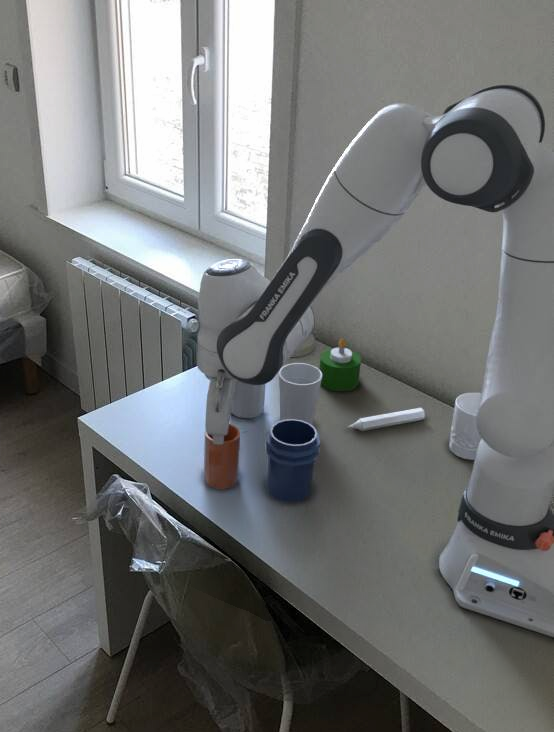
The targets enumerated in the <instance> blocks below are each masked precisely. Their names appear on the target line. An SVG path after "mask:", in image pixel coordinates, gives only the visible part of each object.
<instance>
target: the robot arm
mask: <svg viewBox="0 0 554 732" xmlns="http://www.w3.org/2000/svg"><path fill="white" fill-rule="evenodd" d="M545 129H546V119H545V113H544V110H543V106H542V105H541V103H540V101H539V100H538V99H537V98H536V96H535V95H533V94H532V93H531V92H530V91H528V90H527V89H525V88H523V87H520V86H517V85H512V84H498V85H493V86H489V87H486V88H482V89H480V90H478V91H476V92H474V93H473V94H470V95H468V96H467V97H465V98H463V99H461V100H459V101H457V102H455V103H452V104H451V105H449V106H448V107H446V108H445V109H444V111H443V113H442V115H433V114H431V113H429V112H427V110H425V109H423V108H421V107H419V106H416V105H413V104H409V103H404V102H398V103H397V102H396V103H391V104H389V105H386V106H385V107H383V108H381V109H380V110H379V111H377V113H375V114H374V116H373V117H372V118H370V120H369V121H368V122H367V123H366V124H365V125H364V127H363V128H362V129H361V130H360V131H359V132H358V134H357V135H356V136H355V137H354V138H353V140H352V141H351V143H349V145H348V147H347V148H346V149H345V150H344V151H343V153H342V155H341V156H340V158H339V159H338V161H337V163H336V164H335V165H334V166H333V169H332V170H331V172H330V174H329V175H328V177H327V179H326V181H325V182H324V184H323V186H322V188H321V190H320V192H319V193H318V196H317V197H316V199H315V202H314V204H313V206H312V208H311V210H310V212H309V214H308V215H307V218H306V220H305V222H304V224H303V226H302V228H301V230H300V232H299V233H298V236H297V238H296V240H295V241H294V243H293V246H292V247H291V249H290V251H289V253H288V255H287V257H286V258H285V260H284V261H283V263H282V264H281V266H280V267H279V269H278V270H277V271H276V273H275V274H274V276H273V278H272V279H271V280H270V279H268V278H266V277H265V276H264V275H262V274H261V273H260V272H259V271H258V269H256V267H255V265H254V264H253V263H251V262H250V261H248V260H245V259H240V258H230V259H224V260H221V261H217V262H215V263H214V264H213V265H211V266H209V267H208V268H207V269H206V270H204V272H203V274H202V277H201V280H200V285H199V291H198V303H197V318H198V321H199V331H198V333H197V339H196V367H197V369H198V370H199V371H200V372H201V373H202V374H204V377H205V378H206V379H207V380H209V385H208V389H207V393H206V406H205V422H204V428H205V429H204V431H205V430H206V433H207V434H210V435H213V443H214V444H219V445H222V444H223V442H224V436H225V435H227V433H228V429H229V424H231V423H230V422H231V416H232V412H231V411H232V405H233V398H234V392H235V386H236V381H240V382H243V383H246V384H250V385H263V384H266V385H267V384H268V383H270V382H271V381H272V380H274V378H276V376H277V375H278V374H279V370H280V369H281V368H282V367H283V366H285V365H286V363H287V362H288V361H289V360H290V359H291V357H292V356H293V355H294V354H295V353H296V352H297V351H298V350H299V348H301V347H302V345H303V344H304V343H305V342H306V341H307V340H308V338H309V337H310V336H311V335H312V334H313V331H314V330H315V324H316V323H315V321H316V320H315V313H314V310H313V307H312V304H313V303H314V301H315V300H316V298H317V297H318V296H319V295H320V293H321V292H323V290H324V289H325V288H326V287H327V286H328V285H329V284H330V283H332V282H333V281H334V280H335V279H336V278H337V277H338V276H339V275H341V274H342V273H343V272H344V271H346V270H347V269H348V268H350V267H351V266H352V265H353V264H354V263H356V262H357V261H358V260H360V259H361V258H362V257H363V256H365V255H366V254H367V253H368V252H369V251H370V250H371V249H373V248H374V247H375V246H376V245H377V244H379V243H380V242H381V241H382V240H383V239H384V238H385V237H386V236H387V235H388V234H389V233H390V232H391V231H392V230H393V228H394V227H395V226H396V225H397V224H398V223H399V221H400V220H401V219H402V218H403V217H404V215H405V214H406V212H407V211H408V210H409V209H410V207H411V206H412V204H413V203H414V201H415V200H416V199H417V197H418V196H419V195H420V193H421V192H422V191H423V190H424V189H425V188H426V187H428V188H429V190H430V191H431V192H432V193H433V194H435V195H436V196H437V197H439V198H440V199H442V200H444V201H446V202H448V203H451V204H454V205H458V206H459V205H460V206H465V207H473V208H475V209H479V210H482V211H484V212H488V213H493V214H494V213H498V212H502V222H503V223H502V224H503V225H502V238H501V239H502V240H501V252H500V253H501V254H500V269H499V284H498V300H497V307H496V308H497V309H496V315H495V320H494V321H495V322H494V324H493V328H492V332H491V338H490V343H489V348H488V352H487V357H486V363H485V364H486V366H485V371H484V377H483V382H482V383H483V384H482V389H481V398H480V402H479V406H478V410H477V415H476V425H477V429H478V432H479V434H480V436H481V438H482V439H481V441H480V443H479V446H478V449H477V453H476V457H475V460H473V466H472V470H471V473H470V478H469V482H468V485H467V487H466V488H465V489H464V491H463V493H462V495H461V499H460V502H459V506H458V511H457V512H458V515H457V519H456V520H457V524H456V526H455V529H454V532H453V533H452V535H451V537H450V540H449V541H448V543H447V545H446V546H445V548H444V549H443V550H442V551H441V553H440V555H439V558H438V568H439V571H440V574H441V576H442V578H443V579H444V580H445V582H446V583H447V585H448V586H449V587H450V588H451V589H452V591H453V596H454V599H455V602H456V604H457V605H458V606H460V607H461V608H464V609H466V610H469V611H472V612H475V613H478V614H481V615H484V616H487V617H491V618H493V619H495V620H500V621H502V622H506V623H507V624H508V623H509V624H512V625H515V626H517V627H521V628H523V629H526V630H530V631H533V632H535V633H539V634H541V635H545V636H548V637H551V638H554V513H553V511H552V510H551V506H550V504H551V503H552V498H553V495H554V149H551V148H548V147H546V146H545V145H544V144H543V139H544V137H545V131H546V130H545ZM496 206H497V207H496Z"/></svg>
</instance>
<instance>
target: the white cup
mask: <svg viewBox="0 0 554 732" xmlns="http://www.w3.org/2000/svg"><path fill="white" fill-rule="evenodd" d="M481 394H482V392H481V393H480V392H465V393H462V394H460V395H458V396H457V397H456V398H455V402H454V408H453V415H452V420H451V428H450V438H449V443H448V447H449V449H450V452H451V453H453V454H454V455H455V456H456V457H459V458H461V459H463V460H469V461H475V457H476V453H477V449H478V446H479V443H480V441H481V439H482V438H481V436H480V434H479V432H478V429H477V425H476V415H477V410H478V406H479V402H480V398H481Z"/></svg>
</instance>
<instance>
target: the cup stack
mask: <svg viewBox="0 0 554 732" xmlns="http://www.w3.org/2000/svg"><path fill="white" fill-rule="evenodd" d="M269 431H270V436H269V438H270V440H271V443H272V444H273V445H275V446H276V447H277V448H279V449H280V450H284V451H290V452H303V451H306V450H310V449H311V448H312V447H313V446H315V445H316V442H317V435H318V434H319V433H318V431H317V429H316V427H315V426H314V425H313V426H312V425H311V424H310V423H307V422H305V421H302V420H296V419H287V420H282V421H280V420H279V421H276V422H275V423H274V424H272V425H271V427H270V429H269ZM270 451H271V452H272V453H273V454H274V455H275V456H277V457H279V458H281V459H284V460H290V461H299V460H305V459H308V458H310V457H311V456H312V455H313V454H314V453H315V452H314V453H313V454H312V455H308V456H302V457H297V458H293V457H289V456H284V455H279V454H277V453H276V452H274V451H273V450H272V449H270ZM315 462H316V459H315V460H314V461H313V462H312V463H310V464H305V465H300V466H289V465H284V464H280V463H277V462H275V461H274V460H273V459H272V458H270V457H269V456H268V455H267V471H266V472H267V473H266V486H265V487H266V490H267V493H268V495H270V497H272V498H274V499H275V500H277V501H280V502H284V503H299V502H301V501H304V500H306V499H307V498H309V496H310V495H311V494H312V486H313V478H314V477H313V476H314V468H315Z"/></svg>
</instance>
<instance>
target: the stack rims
mask: <svg viewBox="0 0 554 732" xmlns="http://www.w3.org/2000/svg"><path fill="white" fill-rule="evenodd" d="M265 435H266V441H265V453H266V454H265V455H267V457H268V456H269V457H270V458H272V459H273V460H274V461H275V462H277V463H280V464H284V465H289V466H300V465H305V464H310V463H312V462H313V461H314V460H315V461H316V459H317V458H319V456H320V447H321V439H320V434H319V433H318V435H317V442H316V445H315V446H313V447H312V448H311V449H310V450H306V451H303V452H290V451H284V450H280V449H279V448H277V447H276V446H275V445H273V444H272V443H271V440H270V438H269V436H270V430H269V431H267V432H266V434H265ZM270 449H272V450H273V451H274V452H276V453H277V454H279V455H284V456H289V457H293V458H297V457H302V456H308V455H312V454H313V453H314V452H315V453H314V454H313V455H312V456H311V457H310V458H308V459H305V460H299V461H290V460H284V459H281V458H279V457H277V456H275V455H274V454H273V453H272V452H271V451H270Z"/></svg>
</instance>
